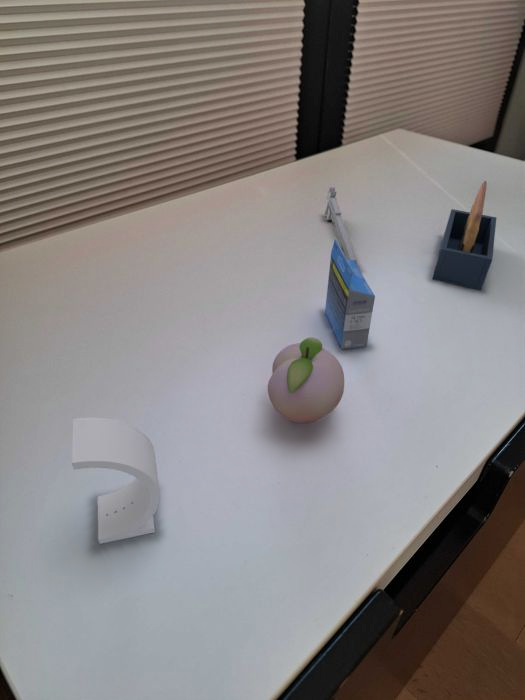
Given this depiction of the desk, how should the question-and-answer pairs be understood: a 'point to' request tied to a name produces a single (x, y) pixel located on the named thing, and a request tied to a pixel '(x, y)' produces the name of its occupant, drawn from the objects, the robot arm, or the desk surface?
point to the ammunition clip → (473, 222)
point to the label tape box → (348, 301)
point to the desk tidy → (465, 264)
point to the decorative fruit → (305, 382)
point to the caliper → (338, 223)
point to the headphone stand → (124, 455)
